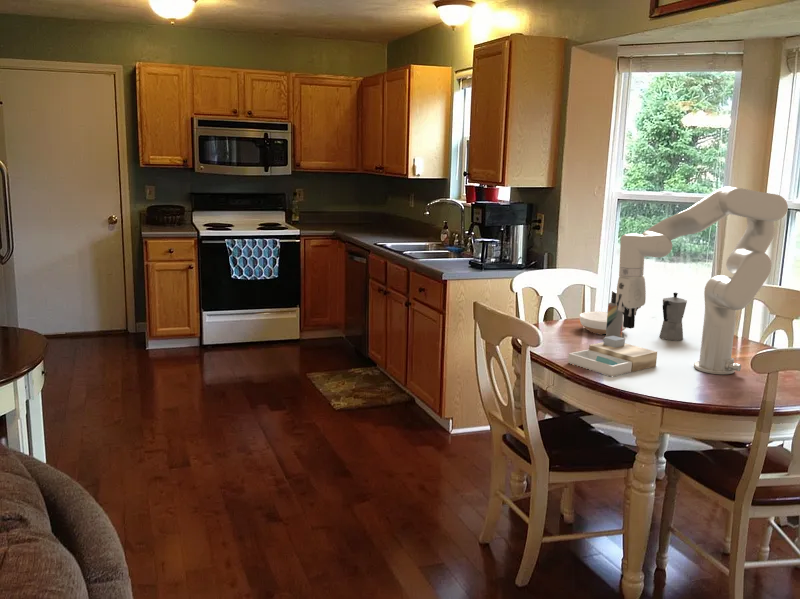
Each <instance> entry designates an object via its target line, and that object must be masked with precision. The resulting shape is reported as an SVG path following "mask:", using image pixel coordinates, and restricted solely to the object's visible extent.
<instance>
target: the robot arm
mask: <svg viewBox="0 0 800 599" xmlns="http://www.w3.org/2000/svg"><path fill="white" fill-rule="evenodd" d="M787 212H788V203H787V201H786V199H785V198H784V196H781V195H779V194H775V193H769V192H763V191H757V190H752V189H747V188H743V187H742V188H741V187H734V186H724V187H720V188H719V189H717V190H715V191H714V192H712V193H711V194H708V195H707V196H705V197H704V198H702V199H701V200H700V201H698V202H696V203H694V204H693V205H692V206H690V207H688V208H687V209H684V210H682V211H680V212H678V213H676V214H674V215H672V216H669V217H667V218H665V219H662V220H661V221H659V222H657V223H656V224H654V225H652V226H651V227H649V228H648V229H646V230H645V231H643V232H642V233H641V234H639V233H626V234H623V235H621V237H620V246H619V247H620V248H619V249H620V250H619V266H618V267H619V271H618V273H619V274H618V280H617V284H616V285H617V286H616V290H617V292H616V305H617V306H618V311H619V312H622V314H623V316H624V319H623V327H625V328H626V329H634V328H635V323H636V322H635V320H636V315H637V311H638V310H639V309H641V307H644V305H645V304H646V296H647V294H646V293H647V292H646V279H645V275H644V273H645V272H644V271H645V257H649V258H656V259H657V258H665V257H666V256H668V255H669V254H670V253H671V252H672V249H673V241H674V240H675V239H678V238H679V237H682V236H683V237H684V236H688V235H694V234H697V233H701V232H703V231H705V230H706V229H708V228H709V227H711V226H713V225H714V224H716V223H717V222H719V221H721V220H722V219H724V218H726V217H727V216H729V215H731V216H732V215H733V216H738V217H742V218H746V228H745V230H744V232H743V235H742V236H741V237H740V239H739V240H738V242H737V244H736V245H735V246H734V248H733V250H732V251H731V253H730V254H729V256H728V257H727V259H726V264H725V265H726V268H727V270H728V271H729V273H731V274H733V276H731V277H730V276H728V275H724V274H720V275H715V276H713V277H711V278H710V279H709V280H708V281H707V282H706V284H705V287H704V293H703V294H704V296H703V298H704V317H703V325H702V333H701V335H702V336H701V345H700V354H699V361H695V362H694V364H693V367H694V369H696V370H698V371H700V372H703V373H706V374H713V375H714V374H715V375H732V374H734V373H735V371H736V372H740V371H741V370H742V365H741V364H740V363H735V358H733V357H732V355H733V354H732V353H733V344H734V336H735V327H736V318H737V316H736V315H737V314H736V311H740V310H743V309H745V308H746V307H747V306H749V305H750V303H751V302H752V301H753V300H754V299H755V297H756V295H757V294H758V292H760V289H761V288H762V287H763V285H764V284H765V282H766V281H767V280H768V278H769V276H770V274H771V271H772V261H771V258H770V256H769V255H768V254H767V253H766V252H767V250H768V248H769V247H770V245H771V244H772V241H773V239H774V235H775V229H776V228H775V222H777V221H780V220H783V218H784V217H785V216H786V214H788V213H787Z"/></svg>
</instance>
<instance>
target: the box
mask: <svg viewBox="0 0 800 599" xmlns="http://www.w3.org/2000/svg"><path fill="white" fill-rule="evenodd" d="M597 356H600V357H603V358H607V359H610V360H612V361H614V362H616V363H618V364H616V365H609V364H606V363H602V362H599V361H596V358H597ZM568 363H570V364H569V365H571V364H574V365H573V366H575V365H577V366H576V367H578V366H580V367H579V368H581V367H583V368H582V369H584V368H586V369H585V370H587V369H589V370H588V371H591V370H593V371H592V372H594V371H596V372H595V373H597V372H599V373H598V374H600V373H602V374H601V375H604V374H605V375H604V376H607V375H608V377H610V376H611V377H610V378H613V377H612V376H614V377H617V376H616V375H618V376H622V375H624V374H625V373H626V374H630V373H632V372H631V368H632V362H631V361H627V360H624V359H620V358H617V357H613V356H610V355H606V354H602V353H599V352H595V351H592V350H589V349H583V350H579V351H573V352H569V353H568V358H567V364H568ZM621 374H622V375H621Z"/></svg>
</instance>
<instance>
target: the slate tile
mask: <svg viewBox="0 0 800 599" xmlns="http://www.w3.org/2000/svg"><path fill="white" fill-rule="evenodd" d="M625 341H626V338H623V337H621V338H620V337H617V336H609V337H606V336H605V337H603V342H604V343H603V344H604V345H607V346H611V347H615V348H616V347H621V346H624V345H625Z"/></svg>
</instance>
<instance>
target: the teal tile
mask: <svg viewBox="0 0 800 599" xmlns="http://www.w3.org/2000/svg"><path fill="white" fill-rule="evenodd" d="M596 361H599V362H602V363H606V364H609V365H616V364H618V363H616V362H614V361H612V360H610V359H607V358H603V357H600V356H597V358H596Z"/></svg>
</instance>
